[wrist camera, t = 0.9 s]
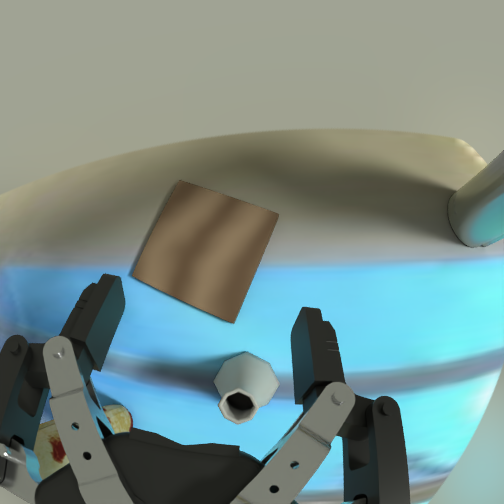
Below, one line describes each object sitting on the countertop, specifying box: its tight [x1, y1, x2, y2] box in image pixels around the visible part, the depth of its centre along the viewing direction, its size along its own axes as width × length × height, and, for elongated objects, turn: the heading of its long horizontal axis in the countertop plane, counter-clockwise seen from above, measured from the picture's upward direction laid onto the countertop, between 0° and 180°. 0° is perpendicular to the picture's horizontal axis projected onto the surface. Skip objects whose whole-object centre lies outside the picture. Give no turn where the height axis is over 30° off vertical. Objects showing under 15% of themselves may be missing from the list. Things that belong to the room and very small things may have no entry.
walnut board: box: [132, 180, 279, 324], centre depth 34 cm, size 14×14×1 cm
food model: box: [33, 404, 133, 480], centre depth 19 cm, size 10×7×20 cm
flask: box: [213, 352, 280, 424], centre depth 25 cm, size 7×7×10 cm
